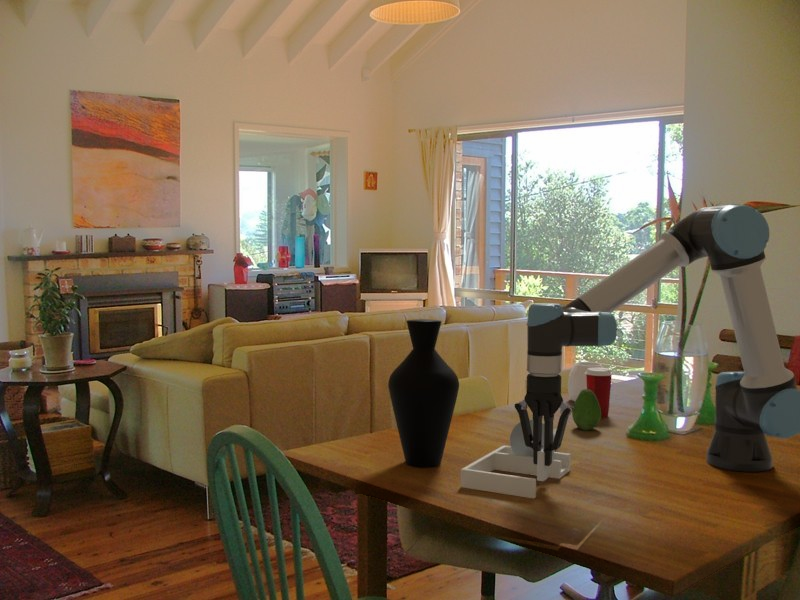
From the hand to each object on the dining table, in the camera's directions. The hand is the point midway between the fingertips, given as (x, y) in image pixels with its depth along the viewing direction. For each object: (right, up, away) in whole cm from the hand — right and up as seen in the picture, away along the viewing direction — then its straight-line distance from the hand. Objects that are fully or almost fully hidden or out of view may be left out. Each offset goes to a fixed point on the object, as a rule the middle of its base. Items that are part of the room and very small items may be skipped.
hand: (542, 479), depth 188 cm
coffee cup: (+30, +3, +74) cm, 80 cm away
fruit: (+22, +2, +56) cm, 61 cm away
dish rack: (-5, -1, +7) cm, 8 cm away
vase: (-26, -1, +19) cm, 32 cm away
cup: (+31, +5, +96) cm, 101 cm away
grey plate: (0, 0, +14) cm, 14 cm away
